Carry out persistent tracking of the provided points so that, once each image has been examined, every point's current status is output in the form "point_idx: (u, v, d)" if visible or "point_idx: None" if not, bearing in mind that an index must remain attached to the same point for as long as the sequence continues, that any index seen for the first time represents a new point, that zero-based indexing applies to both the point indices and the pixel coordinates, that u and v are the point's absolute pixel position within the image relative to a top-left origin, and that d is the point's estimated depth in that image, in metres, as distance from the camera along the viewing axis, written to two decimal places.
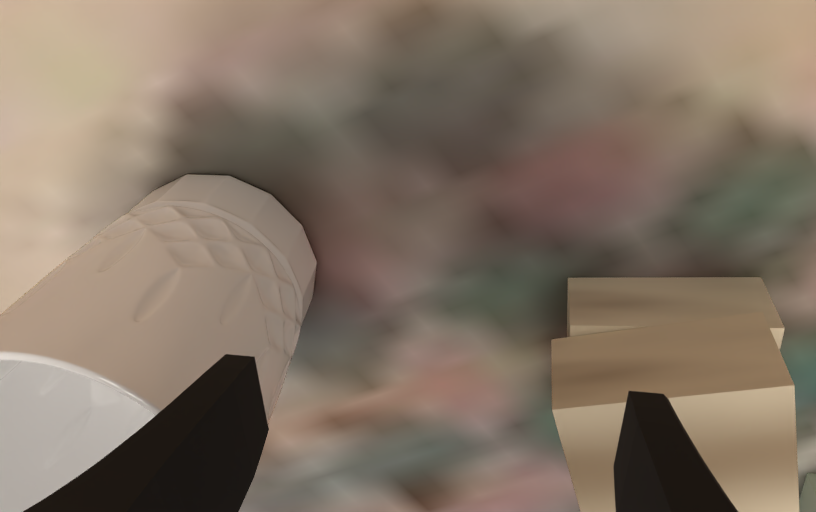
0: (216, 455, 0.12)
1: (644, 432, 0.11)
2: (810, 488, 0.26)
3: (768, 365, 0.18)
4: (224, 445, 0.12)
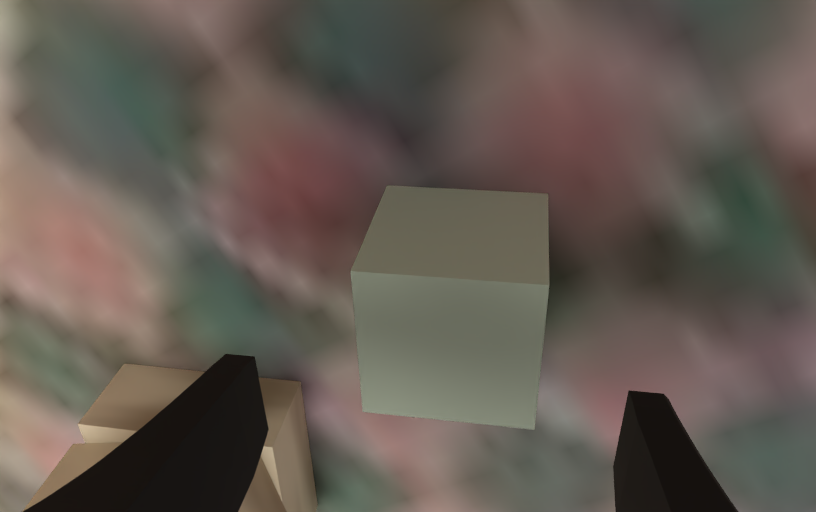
0: (216, 455, 0.12)
1: (644, 432, 0.11)
2: None
3: None
4: (224, 445, 0.12)
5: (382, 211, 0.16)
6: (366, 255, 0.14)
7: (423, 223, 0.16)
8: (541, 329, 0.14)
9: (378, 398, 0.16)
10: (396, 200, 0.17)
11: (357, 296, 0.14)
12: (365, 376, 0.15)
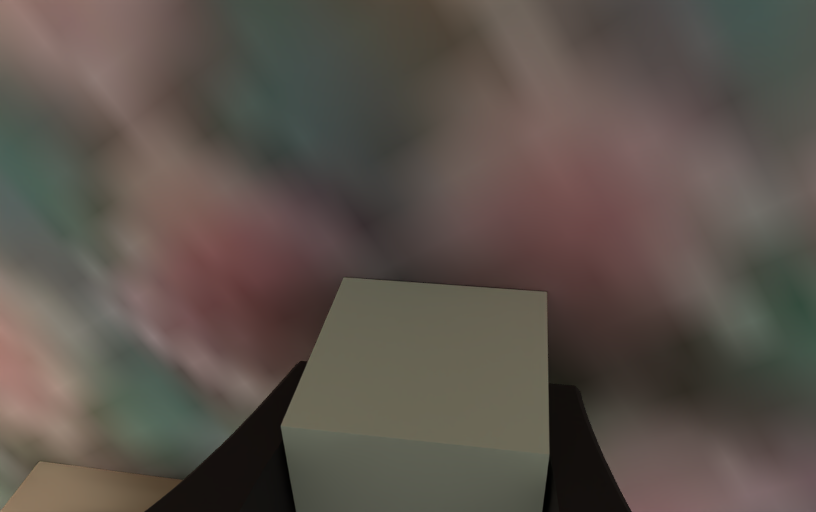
0: None
1: None
2: None
3: None
4: None
5: (333, 322, 0.12)
6: (304, 398, 0.11)
7: (384, 343, 0.12)
8: (538, 504, 0.10)
9: None
10: (352, 304, 0.13)
11: (292, 454, 0.11)
12: None
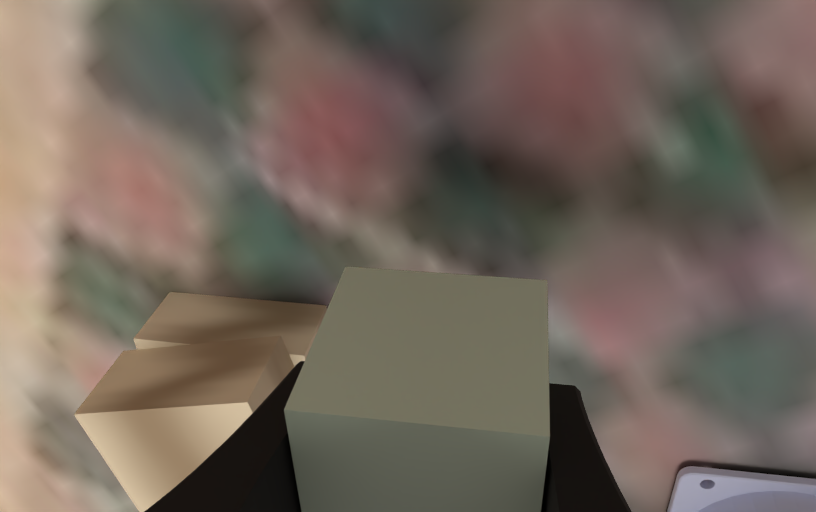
0: None
1: None
2: None
3: None
4: None
5: (335, 309, 0.13)
6: (307, 382, 0.11)
7: (386, 330, 0.12)
8: (539, 486, 0.10)
9: None
10: (354, 292, 0.13)
11: (295, 438, 0.11)
12: None
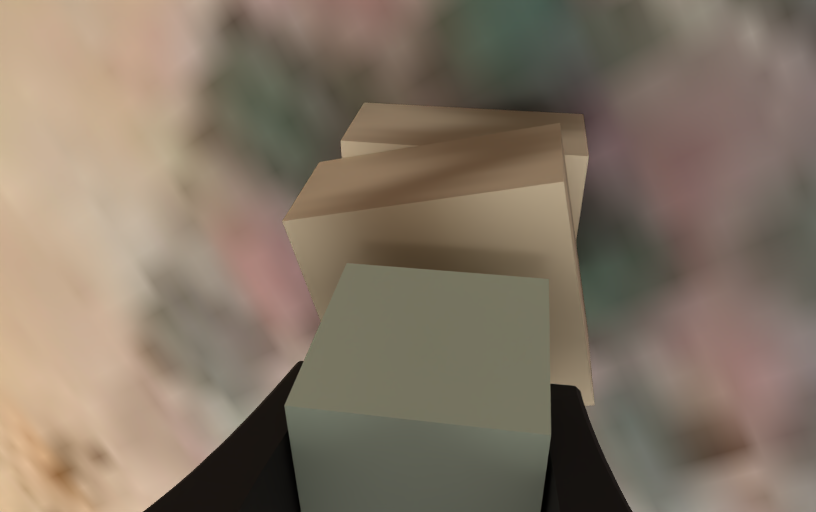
0: None
1: None
2: None
3: None
4: None
5: (336, 306, 0.13)
6: (308, 379, 0.11)
7: (387, 327, 0.12)
8: (539, 485, 0.10)
9: None
10: (355, 289, 0.13)
11: (295, 435, 0.11)
12: None
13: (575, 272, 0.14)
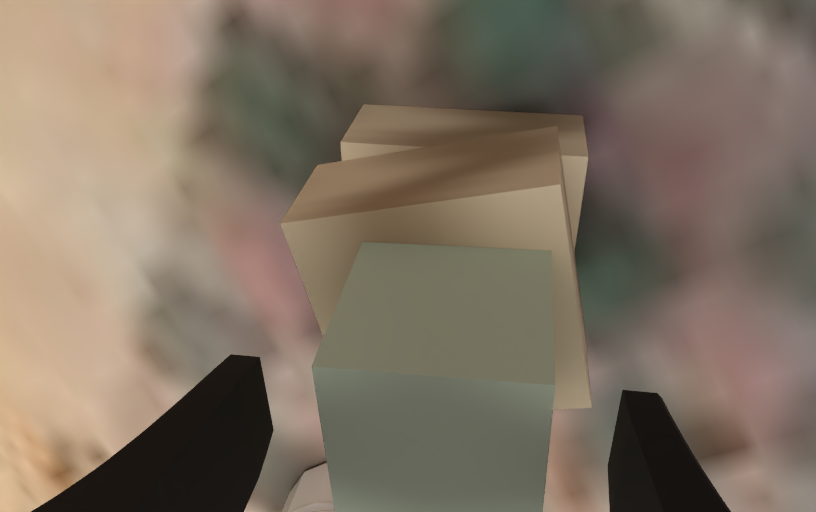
0: (221, 456, 0.12)
1: (637, 431, 0.11)
2: None
3: None
4: (229, 445, 0.12)
5: (354, 279, 0.14)
6: (332, 343, 0.12)
7: (402, 296, 0.13)
8: (546, 433, 0.11)
9: (352, 503, 0.13)
10: (371, 264, 0.14)
11: (321, 394, 0.12)
12: (336, 480, 0.13)
13: (572, 275, 0.14)
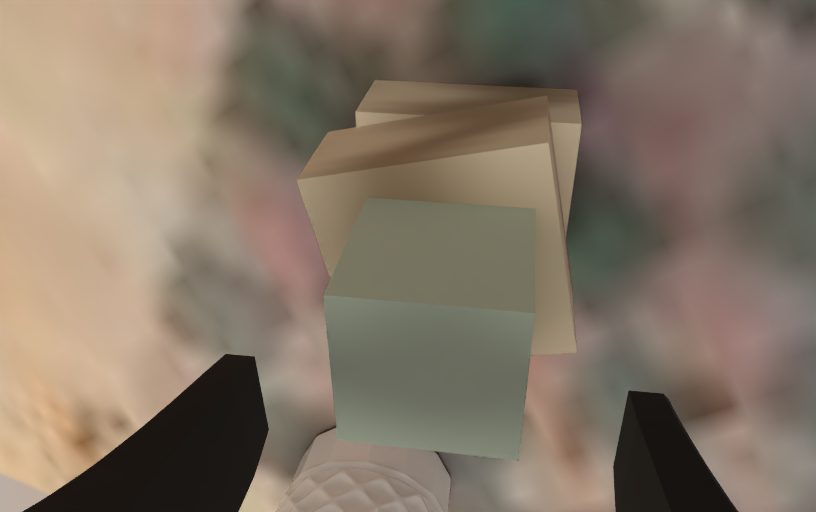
0: (215, 455, 0.12)
1: (644, 432, 0.11)
2: None
3: None
4: (224, 445, 0.12)
5: (360, 228, 0.15)
6: (341, 277, 0.14)
7: (403, 242, 0.15)
8: (526, 358, 0.13)
9: (353, 426, 0.15)
10: (375, 215, 0.16)
11: (331, 321, 0.13)
12: (340, 404, 0.15)
13: (559, 227, 0.16)
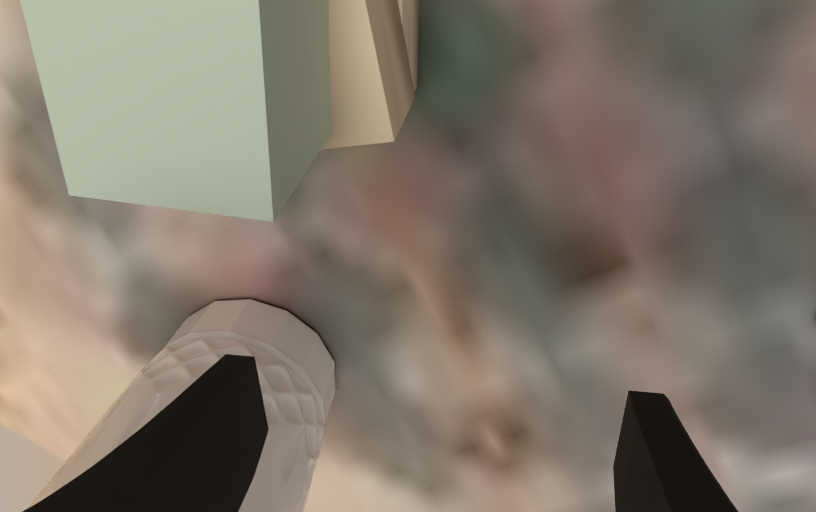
0: (215, 456, 0.12)
1: (644, 432, 0.11)
2: None
3: None
4: (224, 445, 0.12)
5: None
6: None
7: None
8: (258, 64, 0.11)
9: (82, 173, 0.13)
10: None
11: (29, 11, 0.11)
12: (62, 140, 0.12)
13: None
